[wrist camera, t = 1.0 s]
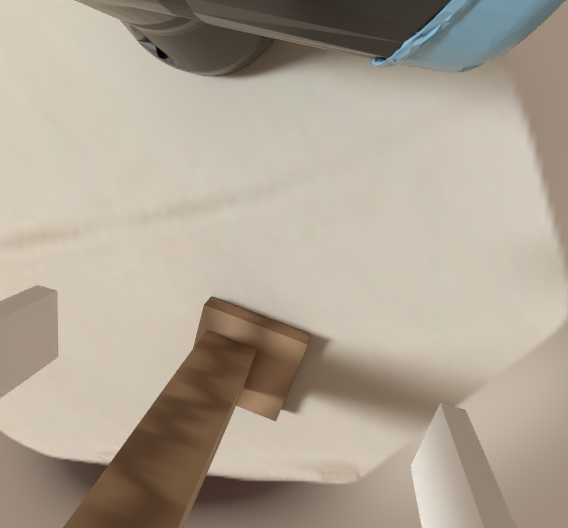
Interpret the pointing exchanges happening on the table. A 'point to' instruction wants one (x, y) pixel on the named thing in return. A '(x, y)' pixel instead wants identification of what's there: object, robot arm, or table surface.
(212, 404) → the stand
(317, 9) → the robot arm
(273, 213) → the table surface
